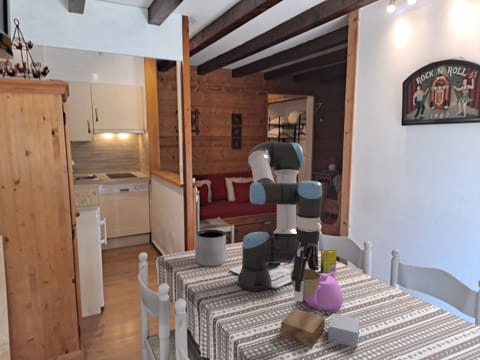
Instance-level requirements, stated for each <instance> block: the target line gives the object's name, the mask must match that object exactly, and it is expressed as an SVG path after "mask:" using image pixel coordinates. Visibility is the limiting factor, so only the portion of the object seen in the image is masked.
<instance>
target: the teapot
mask: <svg viewBox="0 0 480 360" xmlns="http://www.w3.org/2000/svg"><path fill="white" fill-rule="evenodd" d="M320 275H321V280H320V283H319V286H318V288H317V290H316V291H315V293H314V294H313V296H312V297H310V298H303V300H304V301H305V302H306V304H307V305H308V306H310V307H312V308H313V309H316V310H319V311H326V312H329V311H335V310H337V309H338V308H340V306H342V304H343V302H344V295H343V294H344V293H343V291H342V288H341V286H340V284H339V283H338V281H337V279H336V277H337V276H336V275H337V271H336V272H335V271H334V272H330V275H329V274H328V273H323V272H321V273H320Z"/></svg>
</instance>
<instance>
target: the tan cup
mask: <svg viewBox="0 0 480 360" xmlns="http://www.w3.org/2000/svg"><path fill="white" fill-rule="evenodd" d="M292 273H293V269H292V270H291V271H290V273H289V274H290V275H289V276H290V281H291V285H292V287H293V289H294V286H295V281H292ZM320 274H321V273H319V272H318V271H317V270H315V271H314V270H310V268H305V271H304V276H303V280H302V281H304V284H303V299H304V298H310V297H312V296H313V294H314V293H315V291H316V290H317V288H318V286H319V283H320V280H321V275H320Z"/></svg>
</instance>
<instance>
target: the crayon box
mask: <svg viewBox="0 0 480 360" xmlns="http://www.w3.org/2000/svg"><path fill="white" fill-rule="evenodd" d="M336 270H337V248H334V249H325V250H323V251H322V252H320V272H321V273H326V274H328V273H332V272H336V273H337V271H336Z"/></svg>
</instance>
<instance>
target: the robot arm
mask: <svg viewBox="0 0 480 360" xmlns="http://www.w3.org/2000/svg"><path fill="white" fill-rule="evenodd" d="M304 159H305V158H304V152H303V148H302V146H301V145H300V143H298V142H291V141H289V142H283V141H282V142H281V141H275V142H274V141H265V142H261V143H259V144H257V145H256V146H253V148H252V149H251V150H250V152H249V153H248V156H247V163H248V166H249V167H250V169H251V171H252V172H251V173H252V178H253V182H252V183H251V184H250V187H249V201H250V203H251V204H253V205H261V206H262V205H276V229H275V230H274V231H273V235H272V236H271V235H270V234H269V233H268V232H266V231H255V232H250V233H248V234H246V235H244V236H243V238H242V245H241V247H242V256H241V257H242V258H241V260H242V261H241V269H240V271H239V275H238V278H237V286H238V287H239V288H240V289H241V290H243V291H247V292H252V293H253V292H256V293H258V292H264V291H268V290H269V289H270V288H272V278H271V277H272V276H271V274H270V270H269V264H293V267H292V270H293V273H292V281H295V286H294V288H293V290H294V292H293V300H295V301H298V302H301V303H302V302H303V300H304V298H303V284H304V281H302V280H303V276H304V271H305V269H306V267H307V266H308V269H310V270H314V271H319V268H320V267H319V252H318V250H319V249H318V248H319V247H318V246H319V241H320V235H321V234H320V230H319V229H320V228H321V224H322V220H321V213H322V212H321V211H322V196H323V189H322V187H323V185H322V183H321V182H319V181H315V180H301V181H299V182H297V175H298V174H299V173H300V169H302V168H303V167H304ZM271 168H273V173H274V174H275V175H276V182H275V180H274V175H273V173H272V169H271ZM292 281H291V282H292Z"/></svg>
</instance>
